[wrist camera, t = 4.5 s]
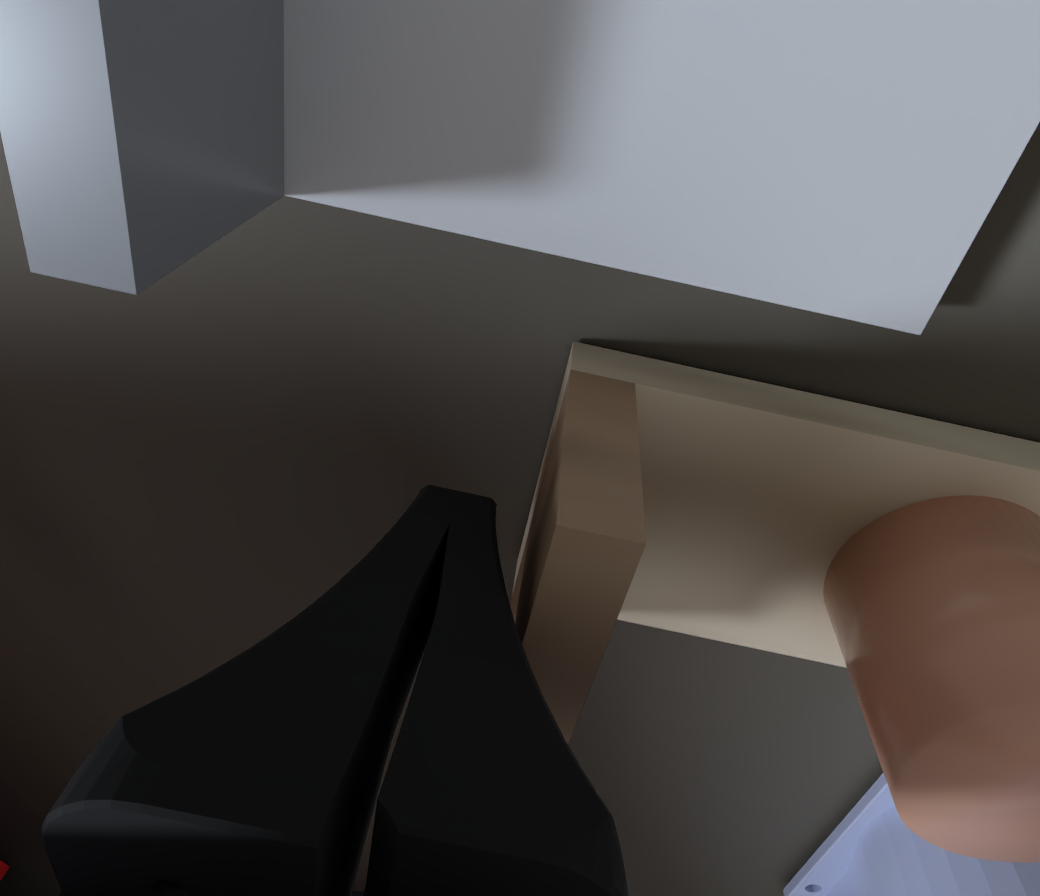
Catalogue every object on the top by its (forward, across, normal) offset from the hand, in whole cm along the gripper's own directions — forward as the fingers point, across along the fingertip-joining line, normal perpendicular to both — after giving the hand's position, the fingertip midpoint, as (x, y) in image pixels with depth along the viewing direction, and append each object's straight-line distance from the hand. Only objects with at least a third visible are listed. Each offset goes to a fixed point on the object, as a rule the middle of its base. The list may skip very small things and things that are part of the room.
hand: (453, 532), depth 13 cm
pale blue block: (+3, -1, -8) cm, 9 cm away
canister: (+2, -10, 0) cm, 10 cm away
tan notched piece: (+3, -8, 0) cm, 8 cm away
